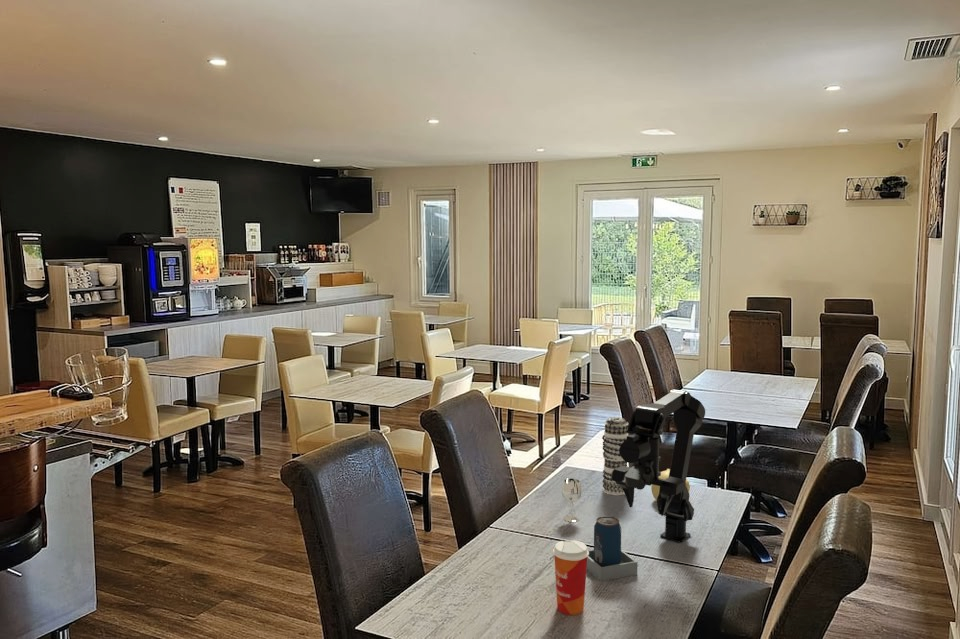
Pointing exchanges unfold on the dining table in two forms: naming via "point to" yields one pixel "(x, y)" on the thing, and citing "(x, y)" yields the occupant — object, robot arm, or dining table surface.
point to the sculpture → (664, 476)
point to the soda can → (607, 541)
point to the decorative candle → (613, 452)
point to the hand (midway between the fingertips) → (646, 511)
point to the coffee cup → (570, 576)
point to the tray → (612, 567)
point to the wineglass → (571, 495)
